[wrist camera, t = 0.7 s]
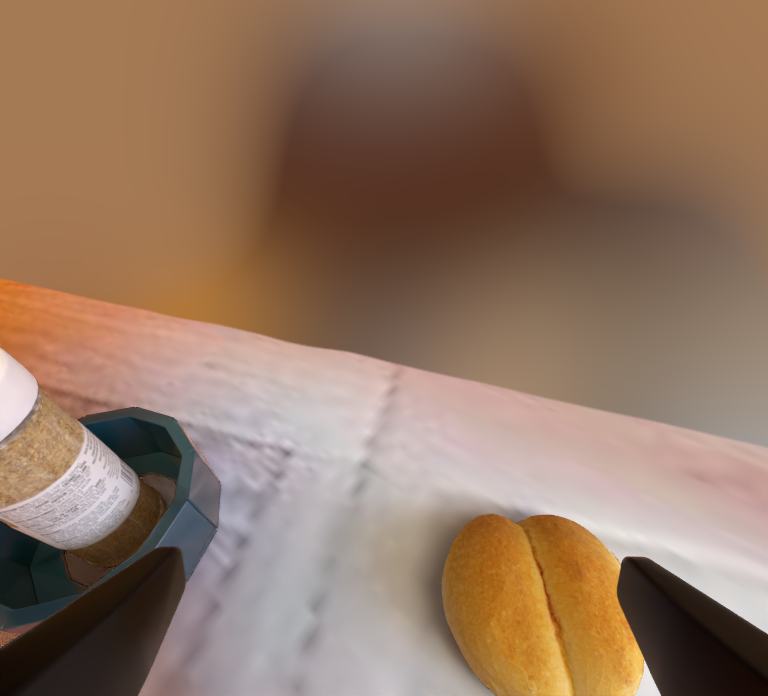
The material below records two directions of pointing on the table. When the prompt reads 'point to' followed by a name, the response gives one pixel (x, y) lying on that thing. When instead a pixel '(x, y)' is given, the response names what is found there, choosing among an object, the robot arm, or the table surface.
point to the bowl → (176, 528)
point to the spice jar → (67, 478)
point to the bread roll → (539, 609)
